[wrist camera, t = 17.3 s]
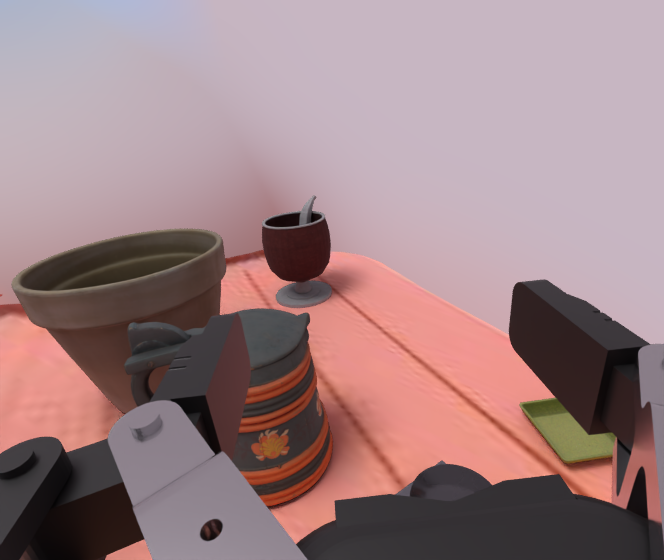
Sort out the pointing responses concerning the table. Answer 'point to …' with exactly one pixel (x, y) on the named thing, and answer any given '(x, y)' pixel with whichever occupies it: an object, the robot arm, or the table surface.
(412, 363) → the table surface
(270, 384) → the beer stein
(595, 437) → the olive green shallow tray
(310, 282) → the mate gourd
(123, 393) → the plant pot
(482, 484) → the glass jar with lid
